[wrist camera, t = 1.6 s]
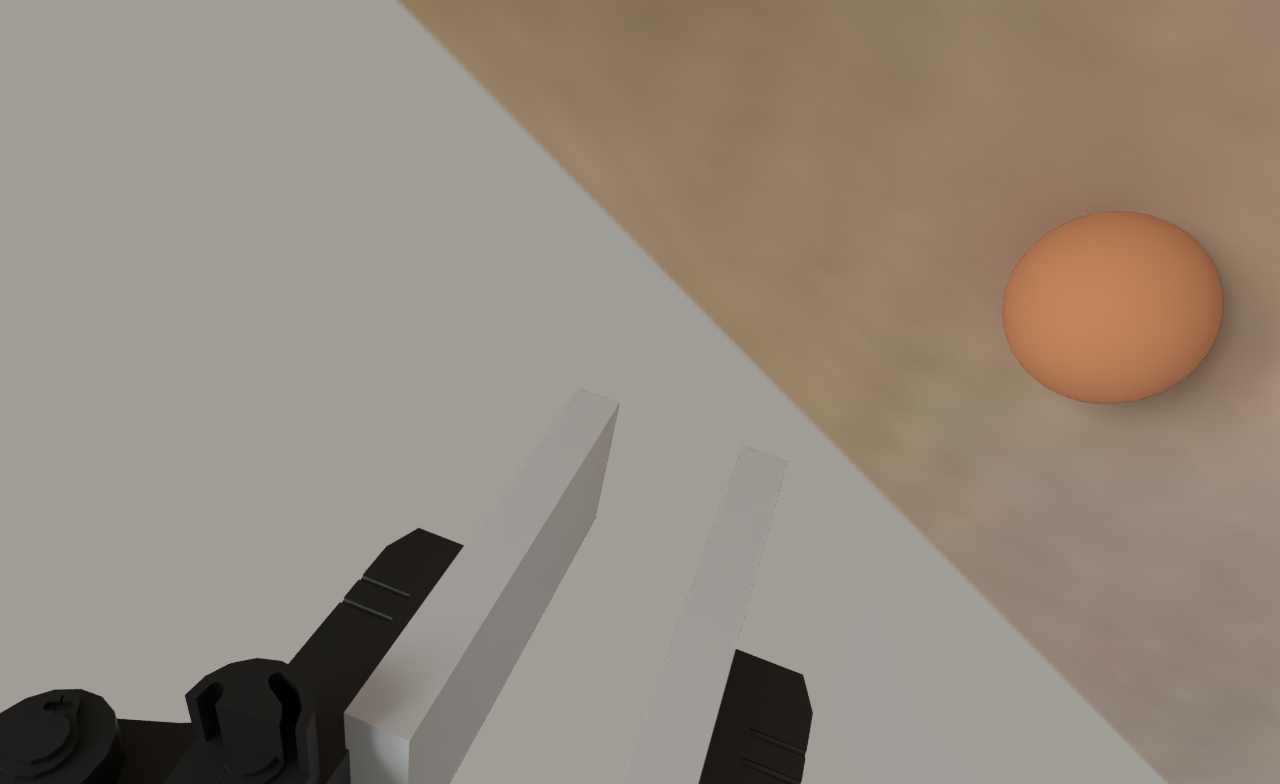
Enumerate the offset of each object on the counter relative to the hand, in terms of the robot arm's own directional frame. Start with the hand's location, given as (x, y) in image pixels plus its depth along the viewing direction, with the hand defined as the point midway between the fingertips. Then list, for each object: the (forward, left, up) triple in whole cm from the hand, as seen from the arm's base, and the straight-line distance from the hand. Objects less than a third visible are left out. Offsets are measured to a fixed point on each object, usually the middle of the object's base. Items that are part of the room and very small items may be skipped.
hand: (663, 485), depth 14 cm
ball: (0, +10, -14) cm, 17 cm away
